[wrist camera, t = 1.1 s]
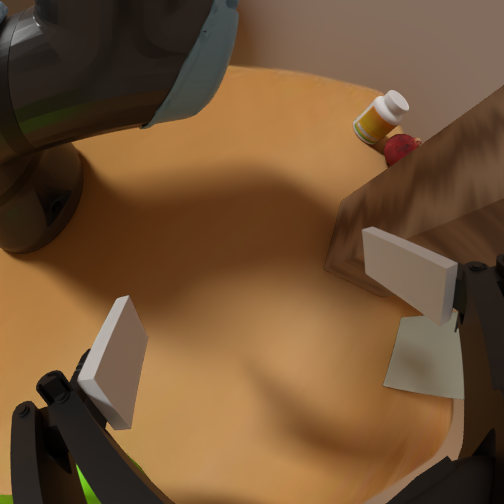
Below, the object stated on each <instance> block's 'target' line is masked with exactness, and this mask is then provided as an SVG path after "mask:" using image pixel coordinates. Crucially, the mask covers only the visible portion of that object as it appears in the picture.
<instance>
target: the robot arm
mask: <svg viewBox="0 0 504 504" xmlns="http://www.w3.org/2000/svg"><path fill="white" fill-rule="evenodd" d="M238 3H239V0H35V5H34V6H32V7H30V8H28V9H25V10H23V11H21V12H18V13H16V14H14V15H11V16H7V13H8V7H6V6H5V5H4V4H3V3H2V2H1V1H0V248H2V249H4V250H6V251H8V252H11V253H17V254H23V253H29V252H33V251H35V250H38V249H40V248H42V247H43V246H45V245H46V244H48V243H49V242H51V241H52V240H53V239H54V238H55V237H56V236H57V235H58V234H59V233H60V232H61V231H62V230H63V229H64V227H65V226H66V225H67V223H68V222H69V220H70V219H71V217H72V215H73V214H74V212H75V210H76V207H77V205H78V202H79V200H80V196H81V193H82V187H83V168H82V163H81V160H80V158H79V156H78V153H77V151H76V149H75V147H74V146H73V144H72V143H71V142H74V141H77V140H81V139H85V138H89V137H93V136H98V135H102V134H107V133H111V132H116V131H121V130H126V129H132V128H137V127H139V128H140V129H147V128H150V127H151V126H153V125H154V124H158V123H163V122H169V121H175V120H181V119H186V118H189V117H192V116H194V115H196V114H197V113H198V112H200V111H201V110H202V109H203V108H204V107H205V106H206V105H208V103H209V102H210V101H211V100H212V98H213V97H214V95H215V93H216V92H217V90H218V88H219V86H220V84H221V82H222V80H223V77H224V75H225V72H226V70H227V67H228V64H229V61H230V58H231V54H232V50H233V47H234V43H235V38H236V34H237V28H238V20H239V14H238V12H237V11H236V8H237V5H238ZM362 237H363V248H364V260H365V274H367V275H368V276H370V277H371V278H373V279H374V280H376V281H377V282H379V283H380V284H381V285H383V286H384V287H386V288H387V289H389V290H390V291H391V292H393V293H394V294H396V295H397V296H398V297H400V298H401V299H403V300H404V301H406V302H407V303H408V304H410V305H411V306H412V307H414V308H415V309H417V310H418V311H419V312H421V313H422V314H423V315H425V316H426V317H428V318H429V319H430V320H432V321H433V322H434V323H436V324H437V325H438V326H442V325H443V324H445V323H446V322H448V321H450V320H451V316H452V310H453V308H454V309H456V310H457V311H458V315H457V320H456V326H455V331H454V332H457V329H459V336H460V344H461V353H462V364H463V379H464V435H463V444H462V448H461V451H460V454H459V456H458V459H457V460H454V461H451V460H450V458H449V457H448V456H446V457H445V458H444V459H442V460H441V461H440V462H438V463H437V464H435V465H434V466H432V467H431V468H429V469H428V470H426V471H425V472H423V473H422V474H420V475H419V476H417V477H416V478H415V479H414V480H413V481H411V482H410V483H409V484H408V485H407V486H406V487H405V488H404V489H403V490H402V491H400V492H399V493H398V494H397V495H396V496H395V497H394V498H392V499H391V500H390V501H389V502H388V503H386V504H504V254H500V255H498V256H497V259H496V266H492V267H489V266H488V265H486V264H485V263H482V262H478V261H472V262H468V263H466V264H465V265H463V264H461V263H459V262H457V261H455V260H452V259H450V258H447V257H446V256H444V255H441V254H439V253H437V252H435V251H431V250H428V249H426V248H423V247H421V246H419V245H416V244H414V243H412V242H409V241H407V240H405V239H402V238H400V237H397V236H395V235H392V234H390V233H387V232H385V231H382V230H380V229H377V228H375V227H369V228H366V229H362ZM147 341H148V336H147V334H146V331H145V329H144V327H143V325H142V323H141V321H140V318H139V316H138V314H137V312H136V309H135V307H134V305H133V302H132V300H131V298H130V295H127V296H124V297H120V298H117V299H116V301H115V303H114V305H113V307H112V309H111V310H110V312H109V314H108V316H107V318H106V320H105V322H104V324H103V326H102V328H101V330H100V332H99V334H98V336H97V338H96V340H95V342H94V344H93V346H92V348H91V349H88V350H87V351H86V352H85V353H84V354H83V355H82V357H81V359H80V361H79V363H78V364H79V365H77V367H76V371H75V372H74V374H73V376H72V378H71V380H70V382H68V380H67V379H66V377H65V376H64V374H63V373H62V372H61V371H58V370H55V371H51V372H49V373H47V374H45V375H44V376H43V377H42V378H41V379H40V380H39V381H38V383H37V385H36V390H37V392H38V393H39V394H40V396H41V397H42V398H43V399H44V401H45V402H46V403H47V405H48V406H47V407H44V408H41V409H38V408H37V407H36V406H35V404H34V403H33V402H32V401H26V402H23V403H21V404H19V405H18V406H17V407H16V409H15V410H14V412H13V415H12V426H11V452H10V459H11V484H12V496H13V504H88V503H87V500H86V497H85V494H84V491H83V488H82V484H81V481H80V477H79V474H78V470H77V466H78V468H79V470H80V471H81V473H82V475H83V476H84V478H85V480H86V481H87V483H88V484H89V486H90V488H91V489H92V491H93V492H94V494H95V495H96V497H97V498H98V500H99V501H100V502H101V504H175V503H174V502H173V501H171V500H170V499H169V498H168V497H167V496H166V495H165V494H164V493H163V492H162V491H161V490H160V489H159V488H158V487H157V486H156V485H155V484H154V483H153V482H152V481H151V480H150V479H149V478H148V477H147V476H146V475H145V474H144V473H143V472H142V471H141V470H140V469H139V468H138V467H137V466H136V465H135V463H134V462H133V461H132V460H131V459H130V458H129V457H128V455H127V454H126V453H125V452H124V451H123V450H122V448H121V447H120V446H119V445H118V444H117V442H116V441H115V440H114V439H113V437H112V436H111V435H110V433H109V432H108V431H107V430H106V429H105V428H106V423H107V422H108V423H109V424H110V425H111V426H112V428H113V429H114V430H124V429H131V425H132V419H133V413H134V407H135V401H136V395H137V390H138V384H139V379H140V374H141V369H142V364H143V360H144V355H145V350H146V346H147ZM76 464H77V466H76Z"/></svg>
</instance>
